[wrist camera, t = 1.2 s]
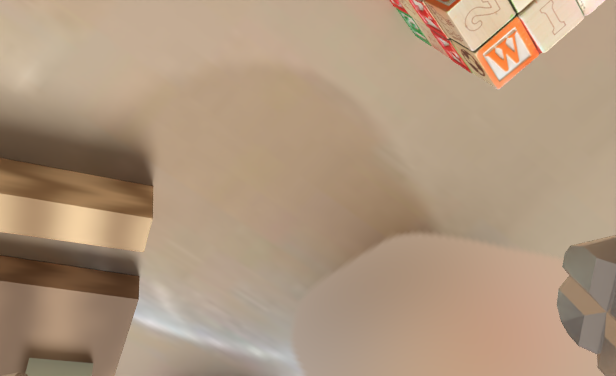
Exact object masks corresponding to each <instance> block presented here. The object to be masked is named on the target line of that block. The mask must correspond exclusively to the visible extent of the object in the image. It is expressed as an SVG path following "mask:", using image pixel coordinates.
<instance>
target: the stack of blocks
mask: <svg viewBox="0 0 616 376" xmlns="http://www.w3.org/2000/svg"><path fill="white" fill-rule="evenodd" d="M390 1H391V3H392V4H393V6H394V7H396V9H397V10H398V11H399V13H400V14H401V16H402V17H403V18H404V20H405V21H406V23H407V24H408V26H409V27H410V28H411V30H412V31H413V33H414V34H415V36H417V37H418V38H419V39H421V40H422V41H424V42H425V43H427V44H429V45H430V46H433V47H434V48H435V49H437V50H438V51H440V52H441V53H443V54H444V55H446V56H447V57H449V58H451V60H452V61H454V62H455V63H456V64H458V65H460V66H461V67H463V68H464V69H466V70H467V71H469V72H470V73H474V74H475V75H477V76H478V77H480V78H481V79H483V80H484V81H486V82H487V83H489V84H490V85H492V86H493V87H495V88H496V89H500V88H501V87H502V86H504V85H505V84H506V83H507V82H508V81H509V80H511V79H512V78H513V77H514V76H515V75H516V74H518V73H519V72H520V71H521V70H522V69H524V68H525V67H526V66H527V65H528V64H529V63H530V62H532V61H533V60H534V59H535V58H536V57H538V55H539V54H540V53H545V52H547V51H548V50H549V49H550V48H551V47H552V46H553V45H555V44H556V43H557V42H558V41H559V40H560V39H561V38H563V37H564V36H565V35H566V34H567V33H568V32H570V31H571V30H572V29H573V28H574V27H575V26H576V25H577V24H579V23H580V22H581V21H582V20H583V19H584V15H589V14H591V13H592V12H593V11H594V10H595V9H596V8H597V7H599V6H600V5H601V4H602V3H603V2H604V1H605V0H390Z"/></svg>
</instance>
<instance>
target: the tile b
mask: <svg viewBox="0 0 616 376" xmlns="http://www.w3.org/2000/svg"><path fill="white" fill-rule="evenodd" d="M92 370H93V363H84V362H72V361H61V360H49V359H38V358H29V361H28V365H27V369H26V372H25V374H27V375H28V376H92Z"/></svg>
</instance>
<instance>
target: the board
mask: <svg viewBox="0 0 616 376" xmlns="http://www.w3.org/2000/svg"><path fill="white" fill-rule="evenodd" d="M138 299H139V276H133V275H127V274H120V273H113V272H107V271H100V270H93V269H87V268H80V267H73V266H67V265H60V264H53V263H47V262H40V261H34V260H27V259H20V258H14V257H7V256H0V376H3V375H8V374H13V373H18V372H19V373H24V374H25V372H26V369H27V365H28V361H29V358H38V359H49V360H61V361H72V362H84V363H93V370H92V376H114V375H115V372H116V369H117V366H118V362H119V359H120V356H121V353H122V350H123V347H124V344H125V340H126V337H127V334H128V331H129V328H130V325H131V321H132V318H133V315H134V312H135V309H136V306H137V302H138Z"/></svg>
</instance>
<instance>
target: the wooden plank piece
mask: <svg viewBox="0 0 616 376" xmlns="http://www.w3.org/2000/svg"><path fill="white" fill-rule="evenodd" d="M152 219H153V186H149V185H144V184H138V183H133V182H127V181H122V180H117V179H111V178H106V177H101V176H95V175H90V174H85V173H79V172H74V171H68V170H63V169H58V168H52V167H47V166H42V165H36V164H31V163H25V162H20V161H15V160H9V159H4V158H0V232H5V233H12V234H19V235H26V236H33V237H40V238H47V239H54V240H61V241H68V242H75V243H82V244H89V245H96V246H103V247H110V248H117V249H124V250H131V251H138V252H144V249H145V246H146V242H147V238H148V234H149V231H150V227H151V223H152Z"/></svg>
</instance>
